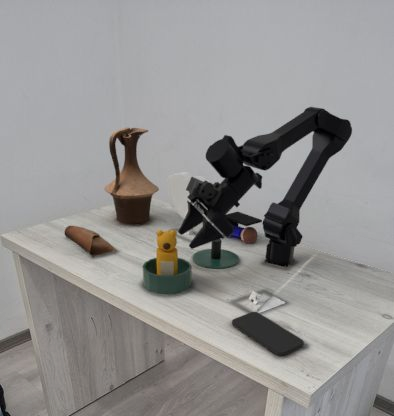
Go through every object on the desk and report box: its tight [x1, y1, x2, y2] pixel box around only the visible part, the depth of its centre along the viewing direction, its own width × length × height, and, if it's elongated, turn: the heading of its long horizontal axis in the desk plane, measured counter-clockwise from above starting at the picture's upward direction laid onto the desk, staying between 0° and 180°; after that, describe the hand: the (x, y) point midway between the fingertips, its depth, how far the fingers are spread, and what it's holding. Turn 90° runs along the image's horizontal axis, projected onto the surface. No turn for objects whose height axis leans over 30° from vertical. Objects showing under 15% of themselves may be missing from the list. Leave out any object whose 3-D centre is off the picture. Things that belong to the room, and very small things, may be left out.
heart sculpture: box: [166, 171, 211, 239], centre depth 135 cm, size 16×5×18 cm, turn 45°
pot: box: [142, 257, 193, 295], centre depth 112 cm, size 12×12×5 cm
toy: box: [155, 229, 179, 276], centre depth 109 cm, size 5×5×13 cm
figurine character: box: [225, 211, 263, 245], centre depth 138 cm, size 7×8×15 cm
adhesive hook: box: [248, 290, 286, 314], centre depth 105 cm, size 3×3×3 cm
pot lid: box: [192, 238, 240, 270], centre depth 124 cm, size 13×13×6 cm
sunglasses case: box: [64, 225, 117, 258], centre depth 132 cm, size 18×7×7 cm
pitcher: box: [104, 126, 160, 226], centre depth 143 cm, size 18×17×28 cm
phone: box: [231, 311, 305, 356], centre depth 94 cm, size 7×1×15 cm
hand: (184, 240), depth 108 cm, fingers open, 9 cm apart
